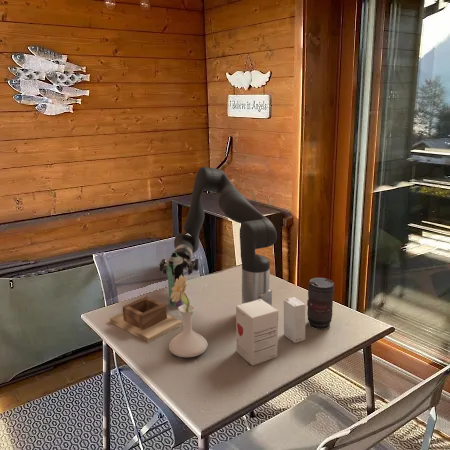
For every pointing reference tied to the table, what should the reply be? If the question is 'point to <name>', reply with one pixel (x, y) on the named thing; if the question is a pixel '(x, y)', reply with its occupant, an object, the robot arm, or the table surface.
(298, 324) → the skincare box
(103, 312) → the table surface
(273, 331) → the supplement box
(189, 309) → the flower in vase
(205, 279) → the table surface
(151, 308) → the can holder
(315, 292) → the camera lens
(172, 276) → the spray can
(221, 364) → the table surface
